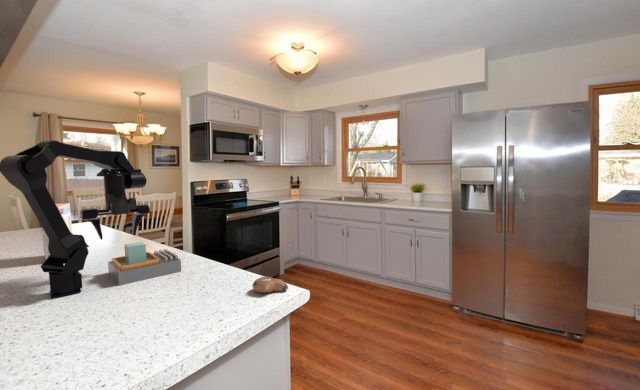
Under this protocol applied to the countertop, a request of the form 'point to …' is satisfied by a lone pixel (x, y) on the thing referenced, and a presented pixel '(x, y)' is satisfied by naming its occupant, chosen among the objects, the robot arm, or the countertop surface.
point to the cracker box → (66, 214)
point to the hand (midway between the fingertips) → (118, 237)
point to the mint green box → (135, 252)
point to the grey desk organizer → (144, 267)
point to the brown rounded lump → (269, 285)
